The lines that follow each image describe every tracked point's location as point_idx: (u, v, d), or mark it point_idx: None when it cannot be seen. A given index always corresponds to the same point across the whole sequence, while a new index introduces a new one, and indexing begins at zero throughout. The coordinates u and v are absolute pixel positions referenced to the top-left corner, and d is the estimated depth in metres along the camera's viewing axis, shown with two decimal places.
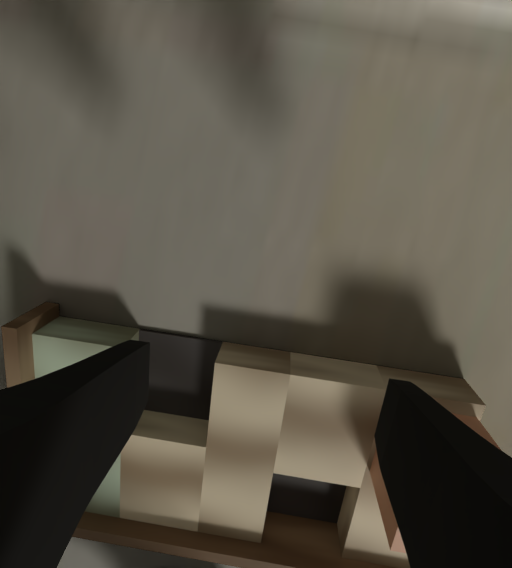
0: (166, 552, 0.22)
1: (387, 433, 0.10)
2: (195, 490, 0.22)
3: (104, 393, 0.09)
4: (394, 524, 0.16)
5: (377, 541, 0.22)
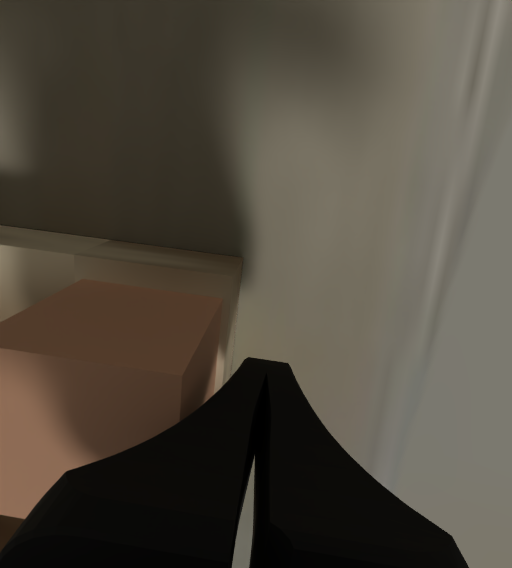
0: None
1: None
2: None
3: (255, 417, 0.08)
4: None
5: None
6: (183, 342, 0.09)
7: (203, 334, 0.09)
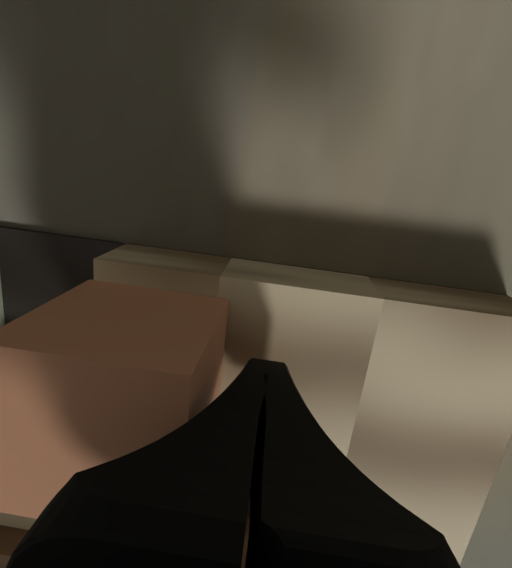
0: None
1: None
2: None
3: (260, 418, 0.08)
4: None
5: None
6: (191, 343, 0.09)
7: (211, 335, 0.09)
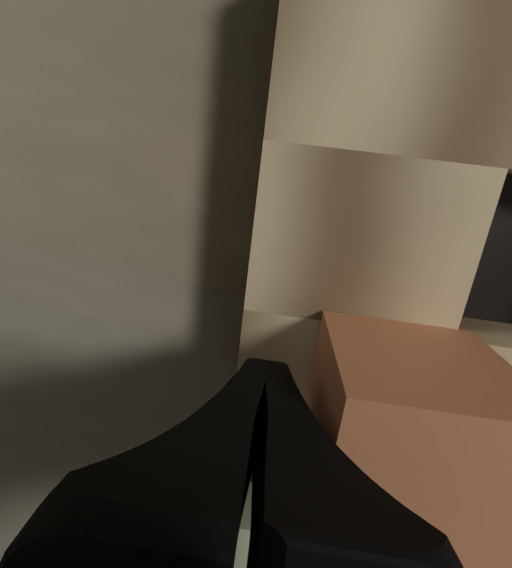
0: None
1: None
2: None
3: (257, 417, 0.08)
4: None
5: None
6: (334, 376, 0.08)
7: (335, 350, 0.09)
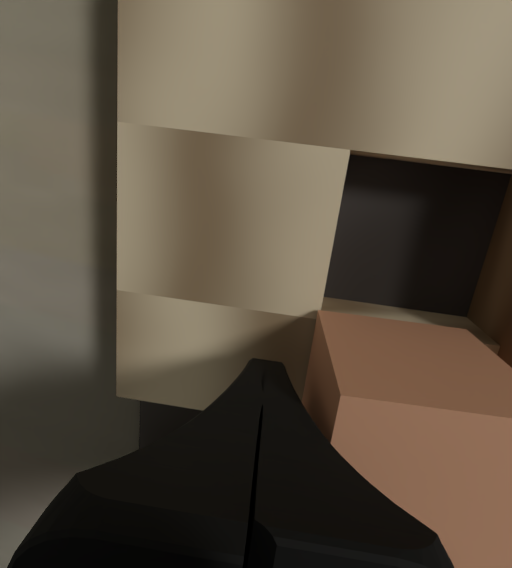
0: None
1: None
2: None
3: None
4: None
5: None
6: (328, 374, 0.08)
7: (329, 348, 0.09)
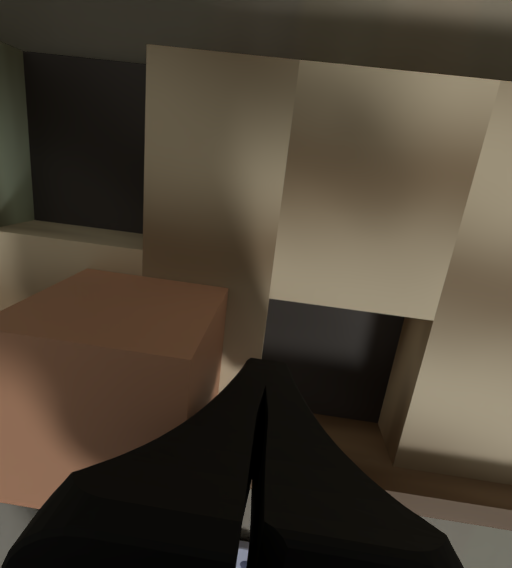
0: None
1: None
2: None
3: (258, 417, 0.08)
4: None
5: (460, 431, 0.12)
6: (190, 328, 0.08)
7: (211, 322, 0.09)
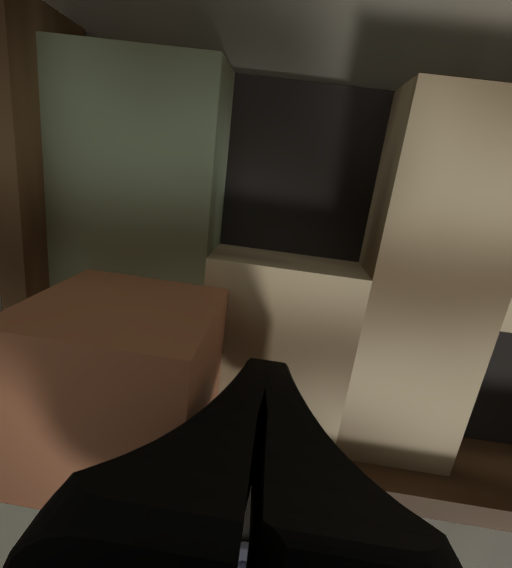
0: None
1: None
2: (339, 373, 0.12)
3: (259, 417, 0.08)
4: None
5: None
6: (190, 329, 0.08)
7: (211, 323, 0.09)
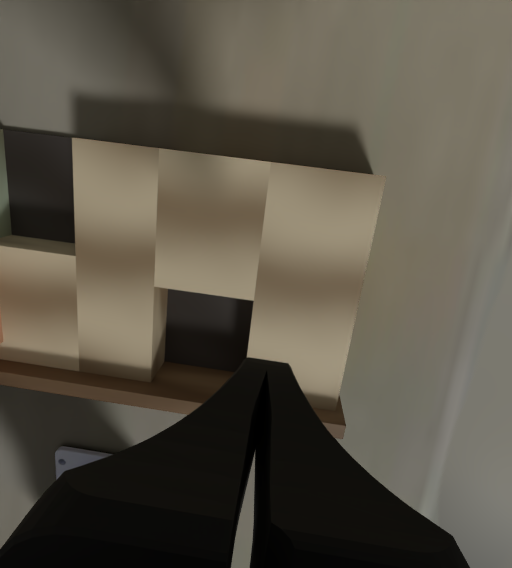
0: (39, 389, 0.20)
1: (260, 413, 0.10)
2: (70, 315, 0.19)
3: (254, 417, 0.08)
4: None
5: None
6: None
7: None
